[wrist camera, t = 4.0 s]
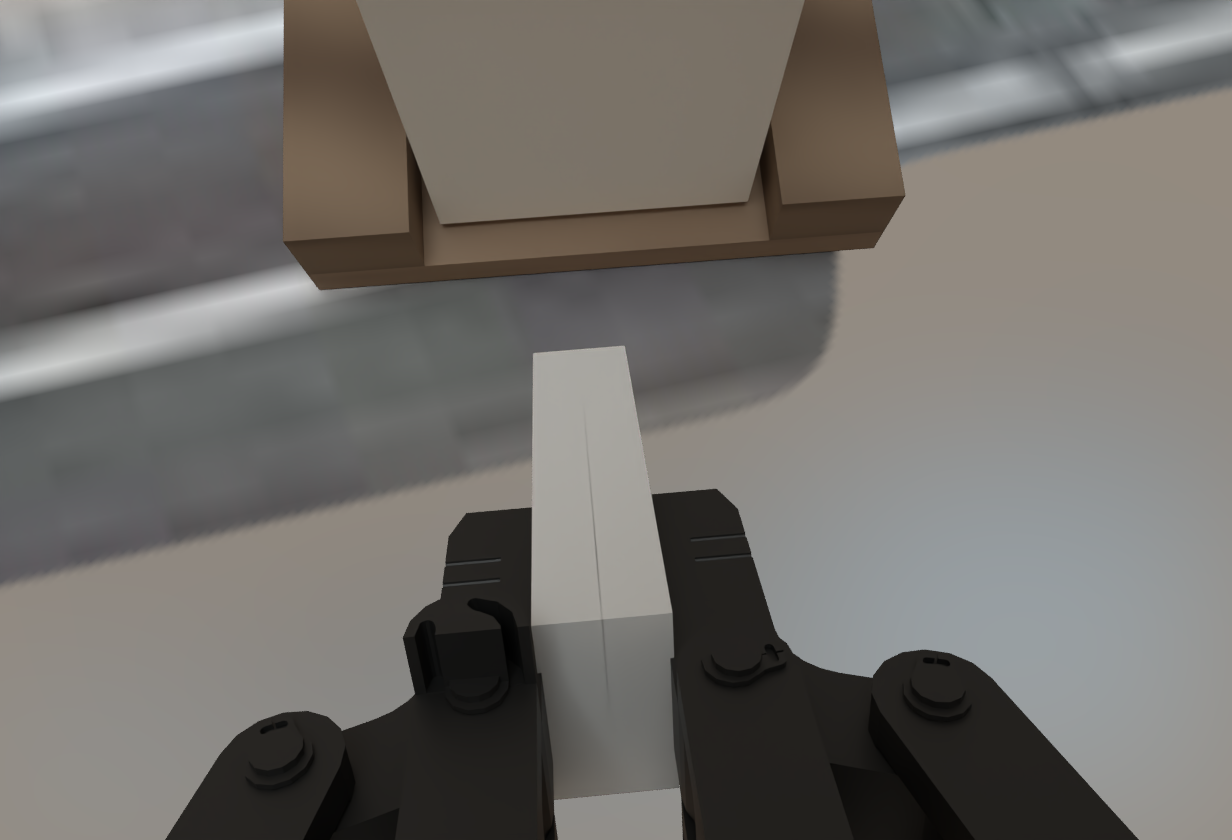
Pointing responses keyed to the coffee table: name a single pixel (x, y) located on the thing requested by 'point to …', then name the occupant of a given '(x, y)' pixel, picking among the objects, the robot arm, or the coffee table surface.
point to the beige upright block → (582, 100)
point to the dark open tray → (429, 251)
